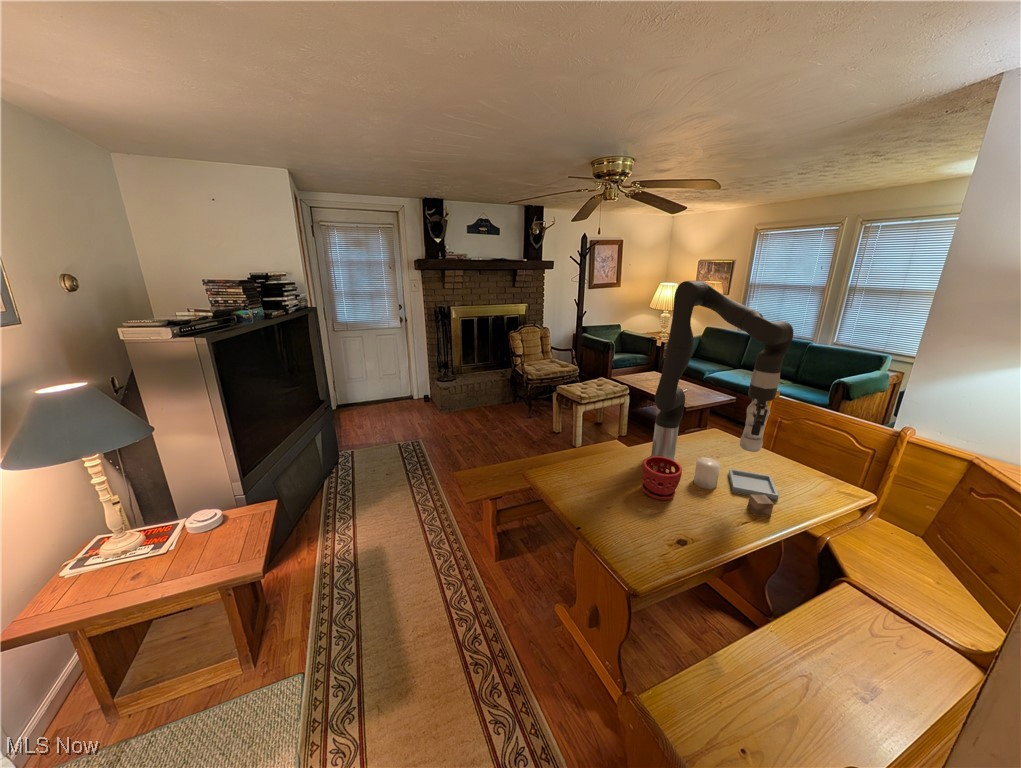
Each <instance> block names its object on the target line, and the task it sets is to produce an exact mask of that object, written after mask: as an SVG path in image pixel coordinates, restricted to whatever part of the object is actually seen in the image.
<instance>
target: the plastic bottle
mask: <svg viewBox="0 0 1021 768" xmlns="http://www.w3.org/2000/svg"><path fill="white" fill-rule="evenodd" d="M754 400H755V401H754V402H752V401H751V403H750V404H749V405H748V406H747V408H746V419H745V424H744V425H745V426H744V429H743V432H742V434H741V437H740V439H739V447H740V448H741V449H742V450H744V451H746V452H751V453H756V452H757V453H758V452H759V451H761V450H762V448H763V444H764V443H763V442H764V439H763V437H764V432H765V427H766V425H767V424H766V423H767V421H768V419H769V416H770V415H771V408H770V406H769V404H768V402H769V401H767V402H766V405H768V407H767V411H768V412H767V415H766V418H765V422H764V425H763V426H761V429H760V433H759V435H758V436H756V435H752V434H751V431H752V426H753V419H754V417H753V416H752V415H753V411H754V413H755V415H756V414H757V411H756V406H755V408H753V403H755V404H756V403H757V399H754ZM765 409H766V408H765ZM757 421H759V422H760V421H761V419H758V420H757Z"/></svg>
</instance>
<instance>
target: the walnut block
mask: <svg viewBox="0 0 1021 768" xmlns="http://www.w3.org/2000/svg"><path fill="white" fill-rule="evenodd" d="M774 505H775V504H774V502H773V500H770V499H769V498H768V497H767V496H766V495H751V494H750V496H748V502H747V508H748V509H749V510H750V512H751V513H752V514H753V515H754V516H756V517H772V512H773V509H774Z"/></svg>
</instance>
